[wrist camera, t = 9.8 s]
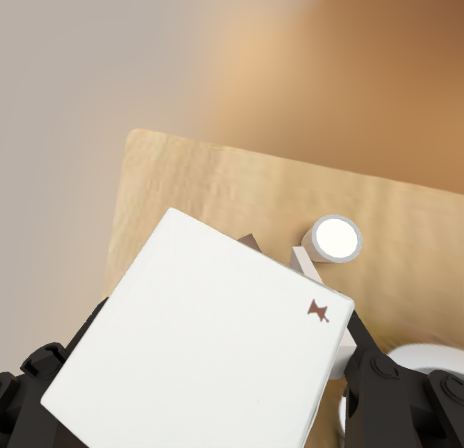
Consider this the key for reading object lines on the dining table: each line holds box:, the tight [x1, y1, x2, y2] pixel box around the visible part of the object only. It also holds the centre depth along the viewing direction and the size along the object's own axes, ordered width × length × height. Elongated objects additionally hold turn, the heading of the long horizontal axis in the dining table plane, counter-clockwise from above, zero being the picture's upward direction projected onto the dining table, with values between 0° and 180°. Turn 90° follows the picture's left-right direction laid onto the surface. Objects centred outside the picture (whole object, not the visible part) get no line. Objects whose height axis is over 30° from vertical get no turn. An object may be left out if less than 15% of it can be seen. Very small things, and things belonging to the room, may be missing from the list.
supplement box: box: [41, 207, 355, 448], centre depth 12 cm, size 7×7×13 cm
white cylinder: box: [301, 215, 362, 263], centre depth 29 cm, size 7×7×7 cm
